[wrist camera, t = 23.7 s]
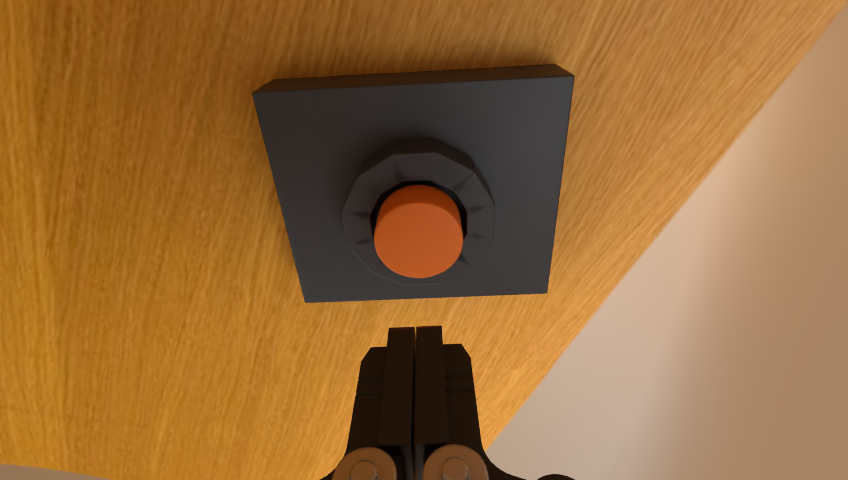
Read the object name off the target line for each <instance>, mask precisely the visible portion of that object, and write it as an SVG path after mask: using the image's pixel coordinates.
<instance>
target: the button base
mask: <svg viewBox="0 0 848 480" xmlns="http://www.w3.org/2000/svg"><path fill="white" fill-rule="evenodd" d="M573 85H574V75H573V74H571V73H570V72H568V71H566V70H565V69H563V68H561V67H560V66H558V65H556V64H553V65H535V66H516V67H498V68H479V69H461V70H442V71H424V72H405V73H387V74H368V75H350V76H331V77H313V78H294V79H276V80H271V81H270V82H268V83H267V84H265V85H263V86H262V87H260V88H259V89H257V90H256V91H254V92H252V95H253V99H254V103H255V107H256V111H257V115H258V119H259V123H260V126H261V130H262V134H263V138H264V142H265V146H266V150H267V154H268V158H269V162H270V166H271V170H272V174H273V178H274V182H275V186H276V190H277V194H278V198H279V202H280V206H281V210H282V214H283V217H284V221H285V225H286V229H287V233H288V237H289V241H290V245H291V249H292V253H293V257H294V261H295V265H296V269H297V273H298V277H299V281H300V285H301V289H302V293H303V297H304V301H305V303H317V302H342V301H367V300H392V299H418V298H443V297H468V296H493V295H518V294H543V293H547V290H548V282H549V274H550V266H551V258H552V250H553V243H554V235H555V227H556V219H557V211H558V203H559V195H560V187H561V179H562V171H563V164H564V156H565V148H566V140H567V132H568V124H569V116H570V108H571V100H572V92H573ZM410 185H428V186H432V187H435V188H437V189H439V190H441V191H443V192H444V193H446V194H447V195H448V196H449V197H450V198H451V199H452V200H453V201H454V203H455V204H456V206H457V208H458V211H459V214H460V220H461V226H462V233H463V246H462V250H461V253H460V255H459V257H458V258H457V260H456V261H455V262H454V264H453V265H452V266H451V267H449V268H448V269H447V270H445V271H443V272H442V273H440V274H437V275H434V276H431V277H426V278H412V277H407V276H403V275H400V274H398V273H396V272H394V271H392V270H391V269H390V268H388V267H387V266H386V265H385V264H384V263H383V262H382V260H381V259H380V258H379V256H378V254H377V252H376V249H375V245H374V233H375V228H376V223H377V218H378V214H379V210H380V208H381V205H382V204H383V202H384V201H385V200H386V198H387V197H388V196H389V195H390V194H392V193H393V192H395V191H396V190H398V189H400V188H403V187H406V186H410Z"/></svg>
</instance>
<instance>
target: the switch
mask: <svg viewBox="0 0 848 480" xmlns="http://www.w3.org/2000/svg"><path fill="white" fill-rule="evenodd" d="M374 245H375V249H376V252H377V254H378V256H379V258H380V259H381V260H382V262H383V263H384V264H385V265H386V266H387V267H388V268H390V269H391V270H392V271H394V272H396V273H398V274H400V275H403V276H407V277H412V278H426V277H431V276H434V275H437V274H440V273H442V272H443V271H445V270H447V269H448V268H449V267H451V266H452V265H453V264H454V262H455V261H456V260H457V258H458V257H459V255H460V253H461V250H462V246H463V233H462V226H461V220H460V214H459V211H458V208H457V206H456V204H455V203H454V201H453V200H452V199H451V198H450V197H449V196H448V195H447V194H446V193H444V192H443V191H441V190H439V189H437V188H435V187H432V186H428V185H410V186H406V187H403V188H400V189H398V190H396V191H395V192H393V193H392V194H390V195H389V196H388V197H387V198H386V200H385V201H384V202H383V204H382V205H381V208H380V210H379V214H378V218H377V223H376V228H375V233H374Z"/></svg>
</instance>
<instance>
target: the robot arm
mask: <svg viewBox="0 0 848 480" xmlns="http://www.w3.org/2000/svg"><path fill="white" fill-rule="evenodd" d="M358 379H359V381H358V384H357V390H356V396H355V402H354V408H353V414H352V420H351V426H350V432H349V438H348V444H347V449H346V452H345V455H344V457H343V459H342V460H341V461H340V462H339V464H338V465H337V467H336V468H335V469H334V470H333V471H332V472H331V473H330V474H328V475H327V476H325V477H324V478H322V479H320V480H525V479H522V478H519V477H516V476H512V475H510V474H507V473H505V472H503V471H502V470H500V469H499V468H497V467H496V466H495V465H494V464H493V463H492V462H491V461H490V460H489V458H488V457H487V456H486V454H485V452H484V450H483V447H482V443H481V436H480V428H479V421H478V413H477V405H476V397H475V391H474V381H473V373H472V366H471V358H470V356H469V355H468V353H467V352H466V350H465V349H464V347H463V346H462V344H443V342H442V326H421V327H416V334H415V327H399V328H389V331H388V341H387V347H371V348H370V350H369V351H368V352H367V354H366V355H365V357H364V358H363V360H362V361H361V366H360V372H359V378H358ZM538 480H574V479H572V478H570V477H568V476H564V475H559V474H550V475H546V476H543V477H541V478H539V479H538Z"/></svg>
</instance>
